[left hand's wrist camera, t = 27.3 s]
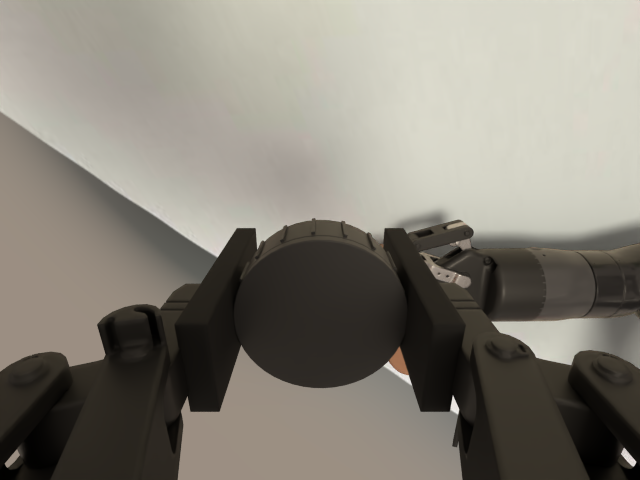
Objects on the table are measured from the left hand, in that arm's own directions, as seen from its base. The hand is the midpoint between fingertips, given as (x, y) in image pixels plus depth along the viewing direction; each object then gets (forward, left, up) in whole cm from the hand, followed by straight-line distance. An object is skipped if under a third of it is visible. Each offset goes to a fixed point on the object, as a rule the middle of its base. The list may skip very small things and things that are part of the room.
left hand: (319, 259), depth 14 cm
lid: (0, 0, +4) cm, 4 cm away
